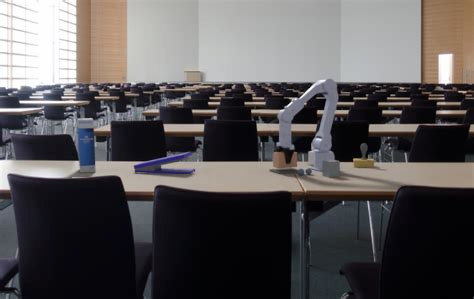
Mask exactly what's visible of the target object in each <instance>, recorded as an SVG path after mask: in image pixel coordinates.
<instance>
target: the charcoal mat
mask: <svg viewBox="0 0 474 299" xmlns="http://www.w3.org/2000/svg"><path fill="white" fill-rule="evenodd" d="M298 170H299V169H298V168H295V167H290V168H270V169H269V172H271V173H275V174H278V175H283V173H285V174H295V173H297V172H298ZM297 174H298V173H297Z"/></svg>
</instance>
